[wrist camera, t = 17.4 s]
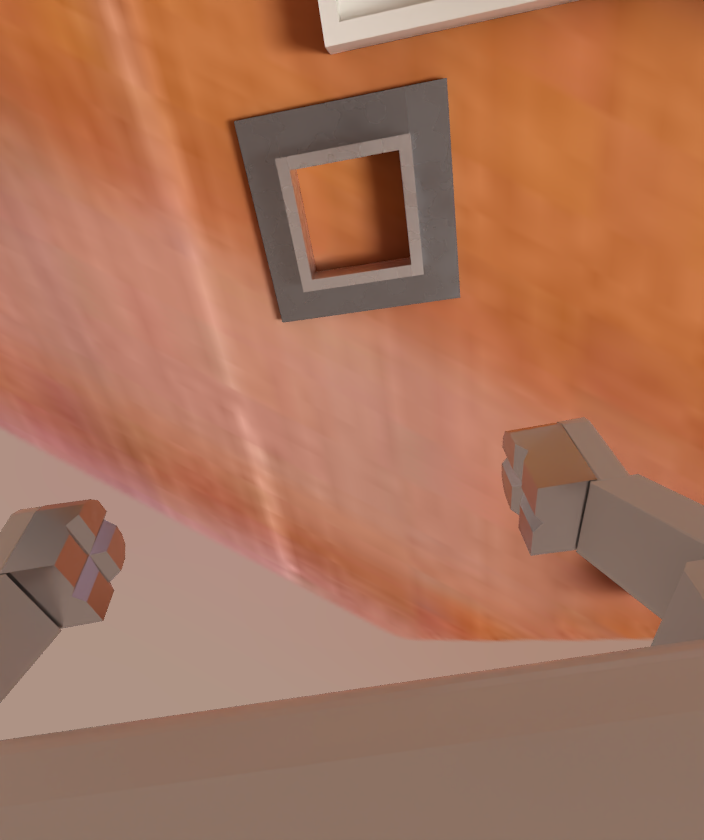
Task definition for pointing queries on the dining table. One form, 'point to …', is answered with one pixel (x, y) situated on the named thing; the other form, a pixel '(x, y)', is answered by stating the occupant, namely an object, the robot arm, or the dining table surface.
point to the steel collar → (341, 140)
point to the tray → (408, 18)
